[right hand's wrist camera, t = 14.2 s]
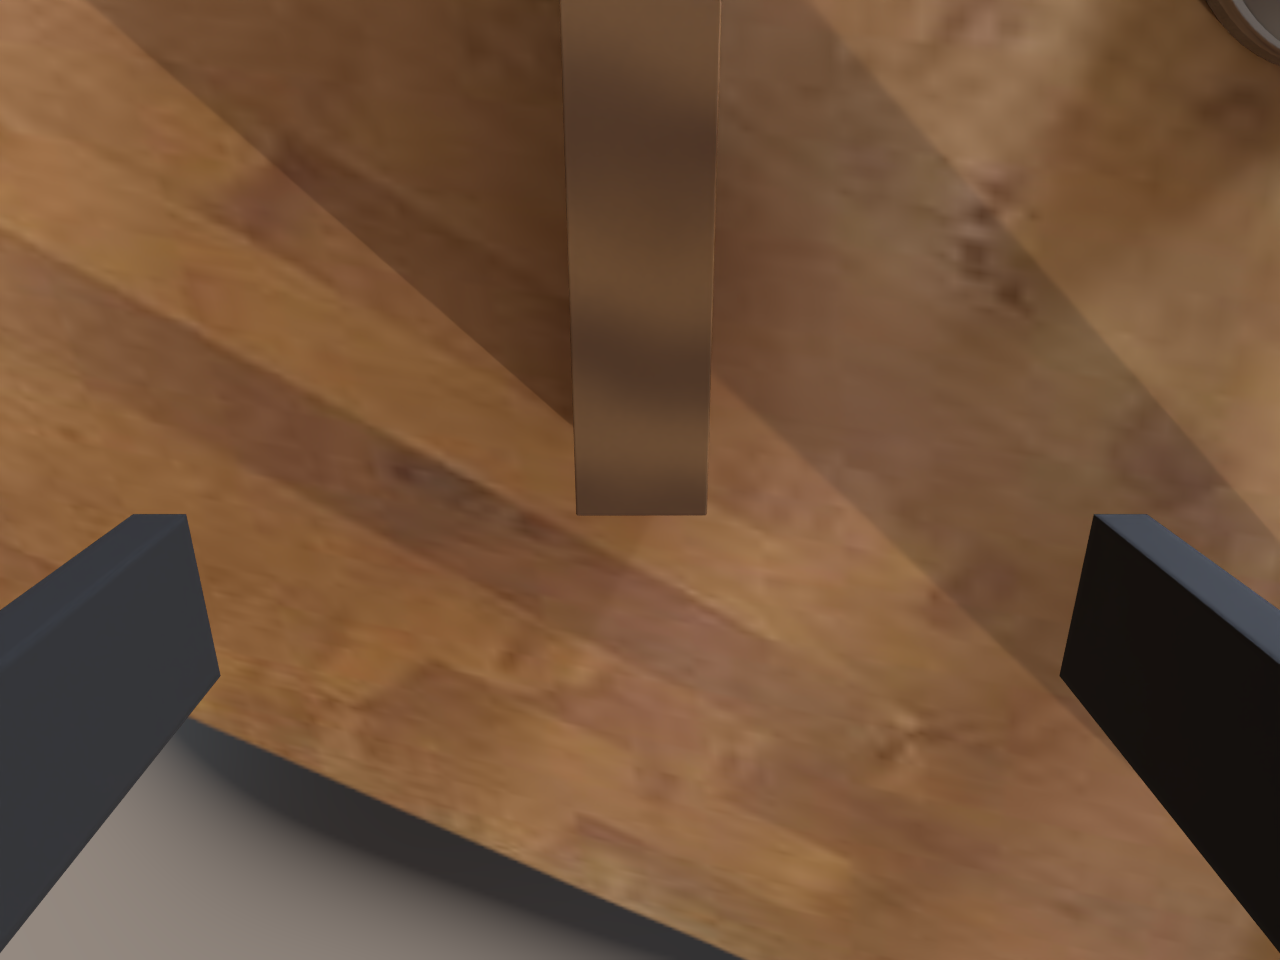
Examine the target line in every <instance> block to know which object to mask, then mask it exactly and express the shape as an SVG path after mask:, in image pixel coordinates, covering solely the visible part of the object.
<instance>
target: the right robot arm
mask: <svg viewBox="0 0 1280 960" xmlns="http://www.w3.org/2000/svg"><path fill="white" fill-rule="evenodd" d="M1206 1H1207V3H1208V5H1209V7H1210V8H1211V10H1212V11H1213V13H1214V14H1215V16H1216V17H1217V19H1218V20H1219V21H1220V23H1221V24H1222V25H1223V26H1224V27H1225V28H1226V30H1227V31H1228V32H1229V33H1230V34H1231V35H1232V36H1233V37H1234V38H1235V39H1236V40H1238V41H1239V42H1240V43H1241V44H1242V45H1243V46H1245V47H1246V48H1247V49H1249V50H1250V51H1252V52H1253V53H1255V54H1256V55H1258V56H1260V57H1262V58H1264V59H1265V60H1267V61H1269V62H1271V63H1274V64H1276V65H1279V66H1280V0H1206ZM219 677H220V671H219V667H218V662H217V657H216V653H215V648H214V643H213V638H212V634H211V629H210V624H209V620H208V615H207V610H206V606H205V601H204V596H203V591H202V587H201V582H200V577H199V573H198V568H197V563H196V558H195V554H194V549H193V544H192V540H191V535H190V530H189V526H188V521H187V516H186V514H133V515H131V516H130V517H129V518H127V519H126V520H125V521H123V522H122V523H120V524H119V525H118V526H116V527H115V528H113V529H112V530H111V531H109V532H108V533H107V534H105V535H104V536H102V537H101V538H100V539H98V540H97V541H95V542H94V543H93V544H91V545H90V546H89V547H87V548H86V549H84V550H83V551H82V552H80V553H79V554H77V555H76V556H75V557H73V558H72V559H71V560H69V561H68V562H66V563H65V564H64V565H62V566H61V567H59V568H58V569H57V570H55V571H54V572H53V573H51V574H50V575H48V576H47V577H46V578H44V579H43V580H41V581H40V582H39V583H37V584H36V585H35V586H33V587H32V588H30V589H29V590H28V591H26V592H25V593H24V594H22V595H21V596H19V597H18V598H17V599H15V600H14V601H12V602H11V603H10V604H8V605H7V606H6V607H4V608H3V609H1V610H0V952H1V951H2V950H3V949H4V947H5V946H6V945H7V944H8V942H9V941H10V940H11V939H12V937H13V936H14V935H15V934H16V932H17V931H18V930H19V929H20V927H21V926H22V925H23V924H24V922H25V921H26V920H27V919H28V917H29V916H30V915H31V914H32V912H33V911H34V910H35V909H36V907H37V906H38V905H39V903H40V902H41V901H42V900H43V898H44V897H45V896H46V895H47V893H48V892H49V891H50V890H51V888H52V887H53V886H54V885H55V883H56V882H57V881H58V880H59V878H60V877H61V876H62V875H63V873H64V872H65V871H66V869H67V868H68V867H69V866H70V864H71V863H72V862H73V861H74V859H75V858H76V857H77V856H78V854H79V853H80V852H81V851H82V849H83V848H84V847H85V846H86V844H87V843H88V842H89V841H90V839H91V838H92V837H93V836H94V834H95V833H96V832H97V830H98V829H99V828H100V827H101V825H102V824H103V823H104V822H105V820H106V819H107V818H108V817H109V815H110V814H111V813H112V812H113V810H114V809H115V808H116V807H117V805H118V804H119V803H120V802H121V800H122V799H123V798H124V797H125V795H126V794H127V793H128V792H129V790H130V789H131V788H132V786H133V785H134V784H135V783H136V781H137V780H138V779H139V778H140V776H141V775H142V774H143V773H144V771H145V770H146V769H147V768H148V766H149V765H150V764H151V763H152V761H153V760H154V759H155V757H156V756H157V755H158V754H159V753H160V751H161V750H162V749H163V747H164V746H165V745H166V744H167V742H168V741H169V740H170V739H171V737H172V736H173V735H174V734H175V732H176V731H177V730H178V729H179V727H180V726H181V725H182V724H183V722H184V721H185V720H186V719H187V717H188V716H189V715H190V714H191V712H192V711H193V710H194V708H195V707H196V706H197V705H198V703H199V702H200V701H201V700H202V698H203V697H204V696H205V695H206V693H207V692H208V691H209V690H210V688H211V687H212V686H213V685H214V683H215V682H216V681H217V680H218V678H219ZM1060 677H1061V678H1062V680H1063V681H1064V682H1065V683H1066V685H1067V686H1068V687H1069V688H1070V690H1071V691H1072V692H1073V693H1074V695H1075V696H1076V697H1077V698H1078V700H1079V701H1080V702H1081V703H1082V705H1083V706H1084V707H1085V708H1086V710H1087V711H1088V712H1089V714H1090V715H1091V716H1092V717H1093V719H1094V720H1095V721H1096V722H1097V724H1098V725H1099V726H1100V727H1101V729H1102V730H1103V731H1104V732H1105V734H1106V735H1107V736H1108V737H1109V739H1110V740H1111V741H1112V742H1113V744H1114V745H1115V746H1116V747H1117V749H1118V750H1119V751H1120V753H1121V754H1122V755H1123V756H1124V758H1125V759H1126V760H1127V761H1128V763H1129V764H1130V765H1131V766H1132V768H1133V769H1134V770H1135V771H1136V773H1137V774H1138V775H1139V776H1140V778H1141V779H1142V780H1143V781H1144V783H1145V784H1146V785H1147V786H1148V788H1149V789H1150V790H1151V792H1152V793H1153V794H1154V795H1155V797H1156V798H1157V799H1158V800H1159V802H1160V803H1161V804H1162V805H1163V807H1164V808H1165V809H1166V810H1167V812H1168V813H1169V814H1170V815H1171V817H1172V818H1173V819H1174V820H1175V822H1176V823H1177V824H1178V825H1179V827H1180V828H1181V829H1182V831H1183V832H1184V833H1185V834H1186V836H1187V837H1188V838H1189V839H1190V841H1191V842H1192V843H1193V844H1194V846H1195V847H1196V848H1197V849H1198V851H1199V852H1200V853H1201V854H1202V856H1203V857H1204V858H1205V859H1206V861H1207V862H1208V863H1209V864H1210V866H1211V867H1212V868H1213V870H1214V871H1215V872H1216V873H1217V875H1218V876H1219V877H1220V878H1221V880H1222V881H1223V882H1224V883H1225V885H1226V886H1227V887H1228V888H1229V890H1230V891H1231V892H1232V893H1233V895H1234V896H1235V897H1236V898H1237V900H1238V901H1239V902H1240V903H1241V905H1242V906H1243V907H1244V909H1245V910H1246V911H1247V912H1248V914H1249V915H1250V916H1251V917H1252V919H1253V920H1254V921H1255V922H1256V924H1257V925H1258V926H1259V927H1260V929H1261V930H1262V931H1263V932H1264V934H1265V935H1266V936H1267V937H1268V939H1269V940H1270V941H1271V942H1272V944H1273V945H1274V946H1275V948H1276V949H1277V950H1278V951H1279V953H1280V610H1279V609H1277V608H1276V607H1274V606H1273V605H1272V604H1270V603H1269V602H1268V601H1266V600H1265V599H1263V598H1262V597H1261V596H1259V595H1258V594H1256V593H1255V592H1254V591H1252V590H1251V589H1250V588H1248V587H1247V586H1245V585H1244V584H1243V583H1241V582H1240V581H1239V580H1237V579H1236V578H1234V577H1233V576H1232V575H1230V574H1229V573H1227V572H1226V571H1225V570H1223V569H1222V568H1221V567H1219V566H1218V565H1216V564H1215V563H1214V562H1212V561H1211V560H1209V559H1208V558H1207V557H1205V556H1204V555H1203V554H1201V553H1200V552H1198V551H1197V550H1196V549H1194V548H1193V547H1191V546H1190V545H1189V544H1187V543H1186V542H1185V541H1183V540H1182V539H1180V538H1179V537H1178V536H1176V535H1175V534H1173V533H1172V532H1171V531H1169V530H1168V529H1167V528H1165V527H1164V526H1162V525H1161V524H1160V523H1158V522H1157V521H1155V520H1154V519H1153V518H1151V517H1150V516H1149V515H1147V514H1094V516H1093V521H1092V526H1091V530H1090V535H1089V540H1088V544H1087V549H1086V554H1085V558H1084V563H1083V568H1082V573H1081V577H1080V582H1079V587H1078V591H1077V596H1076V601H1075V606H1074V610H1073V615H1072V620H1071V624H1070V629H1069V634H1068V638H1067V643H1066V648H1065V653H1064V657H1063V662H1062V667H1061V671H1060Z"/></svg>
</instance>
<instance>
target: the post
mask: <svg viewBox="0 0 1280 960" xmlns="http://www.w3.org/2000/svg"><path fill="white" fill-rule="evenodd" d="M560 28H561V58H562V89H563V120H564V150H565V181H566V212H567V243H568V273H569V304H570V335H571V365H572V396H573V427H574V457H575V488H576V514H577V515H578V516H605V515H706V514H707V491H708V456H709V421H710V386H711V350H712V315H713V280H714V244H715V209H716V174H717V139H718V103H719V68H720V33H721V0H560Z"/></svg>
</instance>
